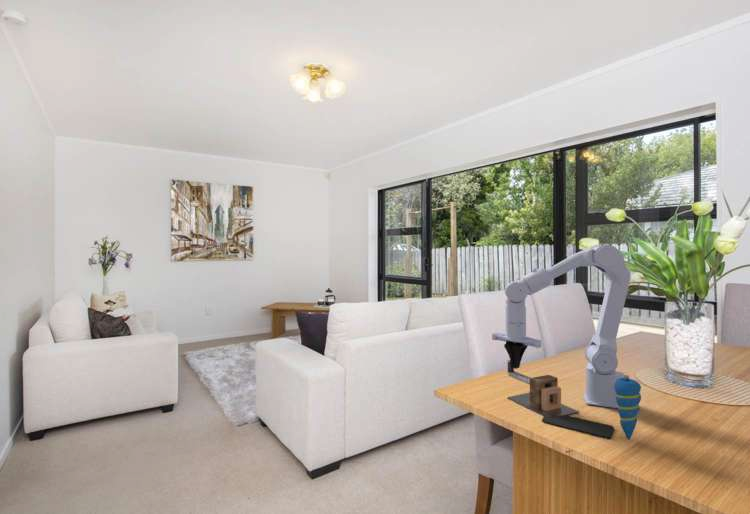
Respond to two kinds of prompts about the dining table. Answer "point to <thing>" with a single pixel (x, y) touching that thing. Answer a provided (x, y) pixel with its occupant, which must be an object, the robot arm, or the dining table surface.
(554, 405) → the collar
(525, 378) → the crank handle
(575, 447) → the dining table surface
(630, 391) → the ornament
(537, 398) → the bearing block
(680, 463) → the dining table surface
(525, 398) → the base plate
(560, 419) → the phone
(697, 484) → the dining table surface
